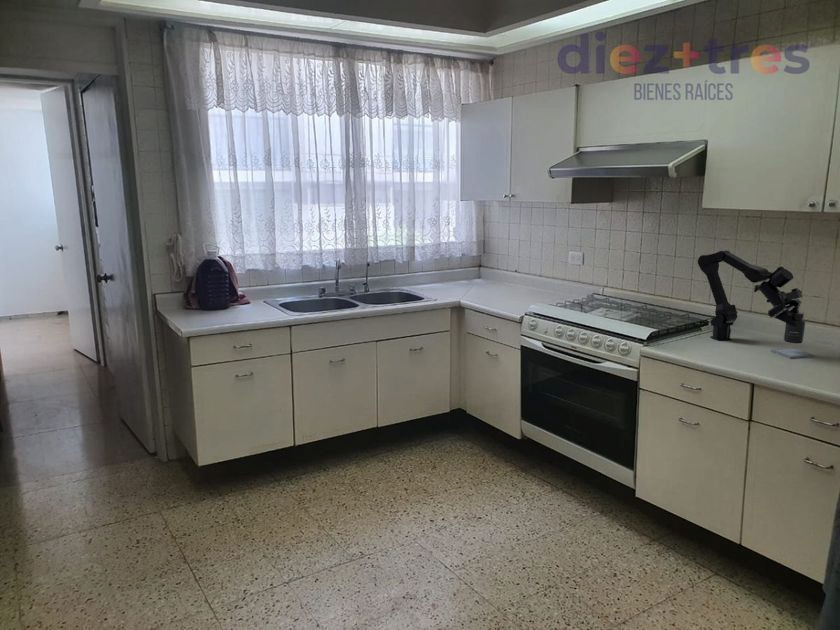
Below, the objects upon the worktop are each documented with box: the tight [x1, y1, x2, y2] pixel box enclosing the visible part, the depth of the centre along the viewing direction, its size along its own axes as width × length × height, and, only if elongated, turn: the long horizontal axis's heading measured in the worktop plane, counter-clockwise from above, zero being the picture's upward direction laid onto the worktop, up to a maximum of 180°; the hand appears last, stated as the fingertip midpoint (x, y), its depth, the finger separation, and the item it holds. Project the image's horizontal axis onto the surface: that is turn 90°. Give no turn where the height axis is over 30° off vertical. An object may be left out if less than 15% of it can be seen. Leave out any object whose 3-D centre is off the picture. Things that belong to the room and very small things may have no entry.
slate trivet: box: [770, 347, 816, 360], centre depth 253 cm, size 11×11×1 cm
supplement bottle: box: [783, 311, 806, 344], centre depth 251 cm, size 7×7×12 cm
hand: (798, 324), depth 250 cm, fingers closed on supplement bottle, 7 cm apart
